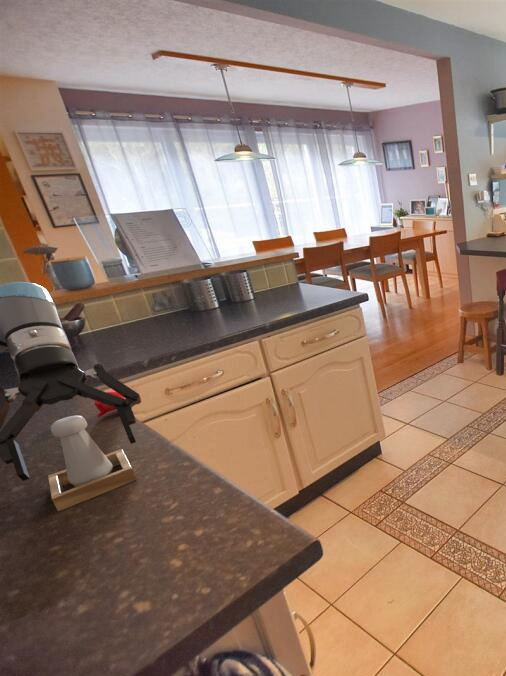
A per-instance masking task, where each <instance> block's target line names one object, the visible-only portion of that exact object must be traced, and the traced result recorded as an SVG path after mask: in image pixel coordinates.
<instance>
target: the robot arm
mask: <svg viewBox="0 0 506 676" xmlns="http://www.w3.org/2000/svg"><path fill="white" fill-rule="evenodd" d="M7 350H8V351H9V354H10V357H11V359H12V361H13V366H14V368H15V371H16V374H17V377H18V380H19V385H18V386H17V387H12V388H6V389H5V388H4V387H1V386H0V459H1V461H3V463H5V464H6V465H9V464H12V465H13V466H14V469H15V472H16V476H17V477H18V478H19V479H20V480H21V481H22V482H24V481H27V480H30V479H31V478H30V474H29V472H28V469H27V465H26V463H25V459H24V457H23V454H22V450H21V448H20V444H19V443H18V442H17V441H16V440H15V439H16V438H17V437H18V435H19V434H20V433H21V432H22V431H23V429H24V428H25V427H26V426H27V424H28V423H29V421H30V420H31V419H32V418H33V416H34V415H35V414H36V413H38V412H39V411H40V410H41V408H42V407H43V406H44V405H48V406H51V405H55V404H57V403H59V402H63V401H69V400H73V399H74V398H75V397H76V396H79V397H81V398H85V399H90V400H93V401H95V400H96V401H98V402H101V403H104V404H107V405H110V406H112V407H115V408H116V411H117V414H118V416H119V419H120V422H121V423H122V426H123V429H124V431H125V433H126V436H127V439H128V441H129V443H130V445H132V444H135V443H137V441H136V439H135V436H134V433H133V431H132V429H131V427H130V426H132V425H134V424H136V423H137V419H136V416H135V413H134V412H133V411H134V410H133V407H134V406H137V405H140V404H141V403H142V398H141V395H140V394H139V393H138V392H137V391H135V390H134V389H132V388H130V387H129V386H128V385H127V384H124V383H123V382H122V381H120V380H119V379H117V378H116V377H114V376H113V375H111V374H109V372H107V371H106V369H105V368H104V366H103V365H102V364H100V363H96V364H94V365H93V368H90V369H86V370H84V371H83V370H81V369H80V367H79V365H78V362H77V359H76V357H75V354H74V352H73V351H72V350H73V349H72V346H71V343H70V341H69V339H68V336H67V334H66V332H65V329H64V327H63V325H62V322H61V320H60V317H59V313H58V311H57V306H56V303H54V300H53V298H52V297H51V295H50V293H49V291H48V290H47V289H46V288H45V287H43V286H41V285H39V284H37V283H33V282H28V281H13V282H6V283H4V284H0V354H1V353H3V352H5V351H7ZM88 378H89V379H92V380H94V381H100V382H101V383H102V384H103V385H105V386H107V387H108V388H109V389H112V391H116V392H117V393H119V394H120V395H122V396H123V397H125V398H126V399H123V398H121V397H118V396H115V395H112V394H109V393H107V392H106V391H104V390H101V389H98V388H95V387H93V386H90V385H89V384H87V383H86V381H87V379H88ZM20 395H21V396H22V397H25V398H24V399H23V400H22V403H21V405H20V406H19V408H18V409H17V410H16V412H14V413H13V415H12V416H11V417H10V418H9V420H8V421H7V423H6V424H5V425H4V426H3V424H4V423H5V420H6V417H7V416H8V413H9V411H10V408H11V403H14V402H15V400H16V399H17V397H19V396H20ZM2 427H3V428H2Z"/></svg>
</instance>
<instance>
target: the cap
mask: <svg viewBox="0 0 506 676" xmlns="http://www.w3.org/2000/svg"><path fill="white" fill-rule="evenodd" d="M105 392H107V393H109V394H112V395H115V396H118V397H121V398H123V399H126V398H125V397H123V396H122V395H120V394H119V393H117V392H116V391H114V390H106V391H105ZM94 406H95V408H96V409H97V410H98V412H99V413H97V415H96V416H97V418H101V417H103V416H104V415H106V414H107V413H110V412H112V411H117V409H116V408H115V407H112V406H110V405H107V404H104V403H101V402H98V401H96V400H94Z"/></svg>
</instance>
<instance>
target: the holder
mask: <svg viewBox="0 0 506 676" xmlns="http://www.w3.org/2000/svg"><path fill="white" fill-rule="evenodd" d="M104 455H105V456H106V457H107V458H108V460H109V461H110V462H111V463H112V466H113V468H114V467H117V466H120V467H121V469H119V470H116V471H114V472H112V473H111V474H109V475H106V476H104V477H101V478H98V479H96V480H93V481H91V482H88V483H86V484H83V485H80V486H78V487H75V486H74V487H73V488H70V489H68V490H64V487H65V486H68V485H71V483H70V482H69V480H68V477H67V471H66V468H65V469H63V470H60V471H56V472H55V473H52V474H49V475H47V478H48V483H49V484H48V485H49V490H50V496H51V500H52V502H53V505H54V506H55V509H56V510H57V512H59V513H60V512H61V511H63V510H66V509H68V508H71V507H73V506H76V505H78V504H81V503H83V502H86V501H88V500H90V499H93V498H95V497H98V496H100V495H103V494H105V493H108V492H110V491H113V490H115V489H118V488H120V487H123V486H125V485H128V484H130V483H132V482H135V481H137V479H138V478H137V476H136V474H135V472H134V469H133V467H132V465H131V464H130V463H131V462H129V459H128V458H127V455H126V454H125V452H124V449H123V448H120V449H118V450H115V451H113V452H109V453H107V454H104Z"/></svg>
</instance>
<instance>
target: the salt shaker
mask: <svg viewBox="0 0 506 676" xmlns="http://www.w3.org/2000/svg"><path fill="white" fill-rule="evenodd" d="M87 427H88V423H87V420H86V419H85V417H83V415H70V416H66V417H63V418H60V419H58V420H56V421H54V422H53V423H52V424H50V431H51V434H52V435H53V436H54V437H55V438H60V444H61V448H62V453H63V458H64V465H65V469H66V471H67V477H68V480H69V482H70V485H72V486H74V488H75V487H78V486H80V485H83V484H86V483H88V482H91V481H93V480H96V479H98V478H101V477H104V476H106V475H109V474H111V473H113V468H114V467H113V466H112V463H111V462H110V461H109V460H108V458H107V457H106V456H105V455H106V454H105V453H104V452H103V450H102V449H101V448H100V447H99V445H98V444H97V443H96V441H94V439H93V437H91V436H90V434H89V433H88V431H86V428H87Z"/></svg>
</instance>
